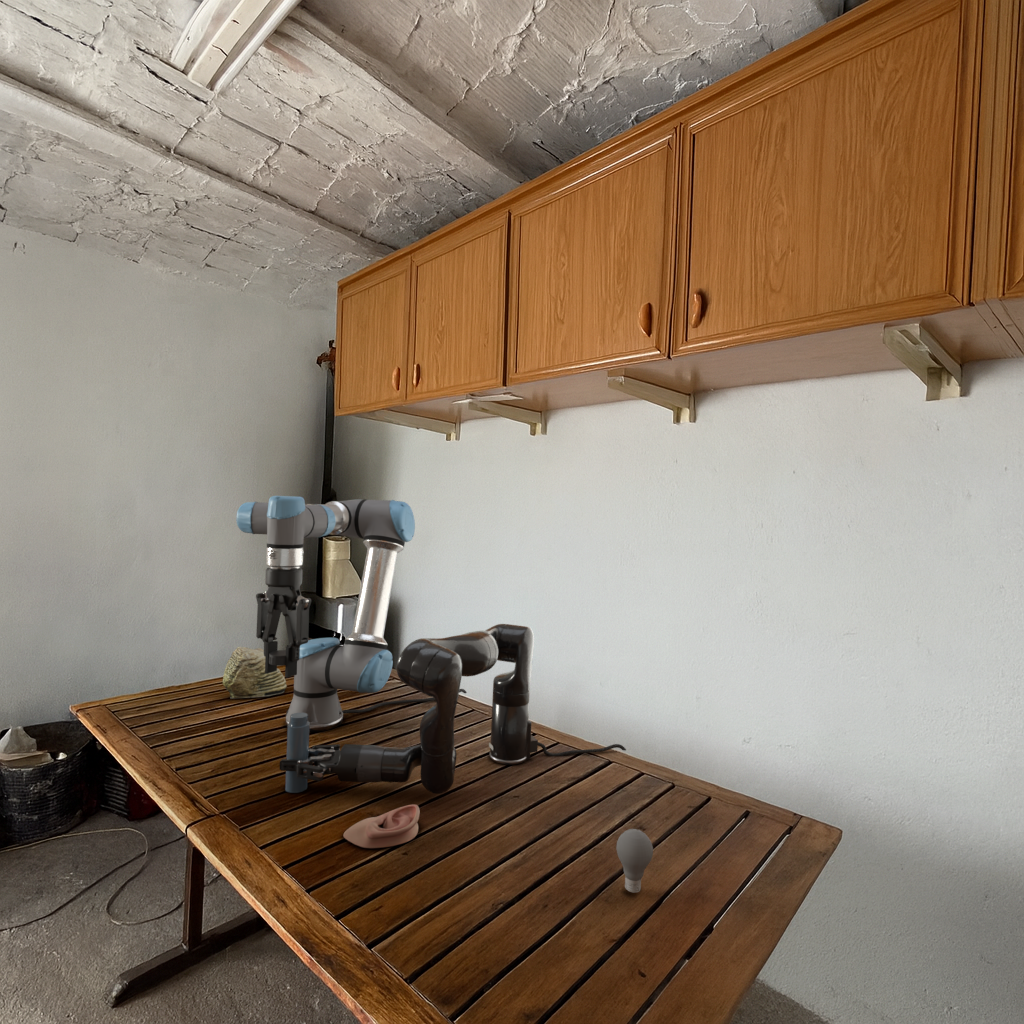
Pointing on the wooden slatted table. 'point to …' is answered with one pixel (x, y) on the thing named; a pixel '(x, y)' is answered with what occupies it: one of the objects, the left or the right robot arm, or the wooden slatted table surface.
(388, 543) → the left robot arm
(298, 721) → the blue-grey cylindrical bottle
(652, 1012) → the wooden slatted table surface
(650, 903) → the wooden slatted table surface
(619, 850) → the light bulb
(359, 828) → the anatomical model
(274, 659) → the lid
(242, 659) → the fossil
